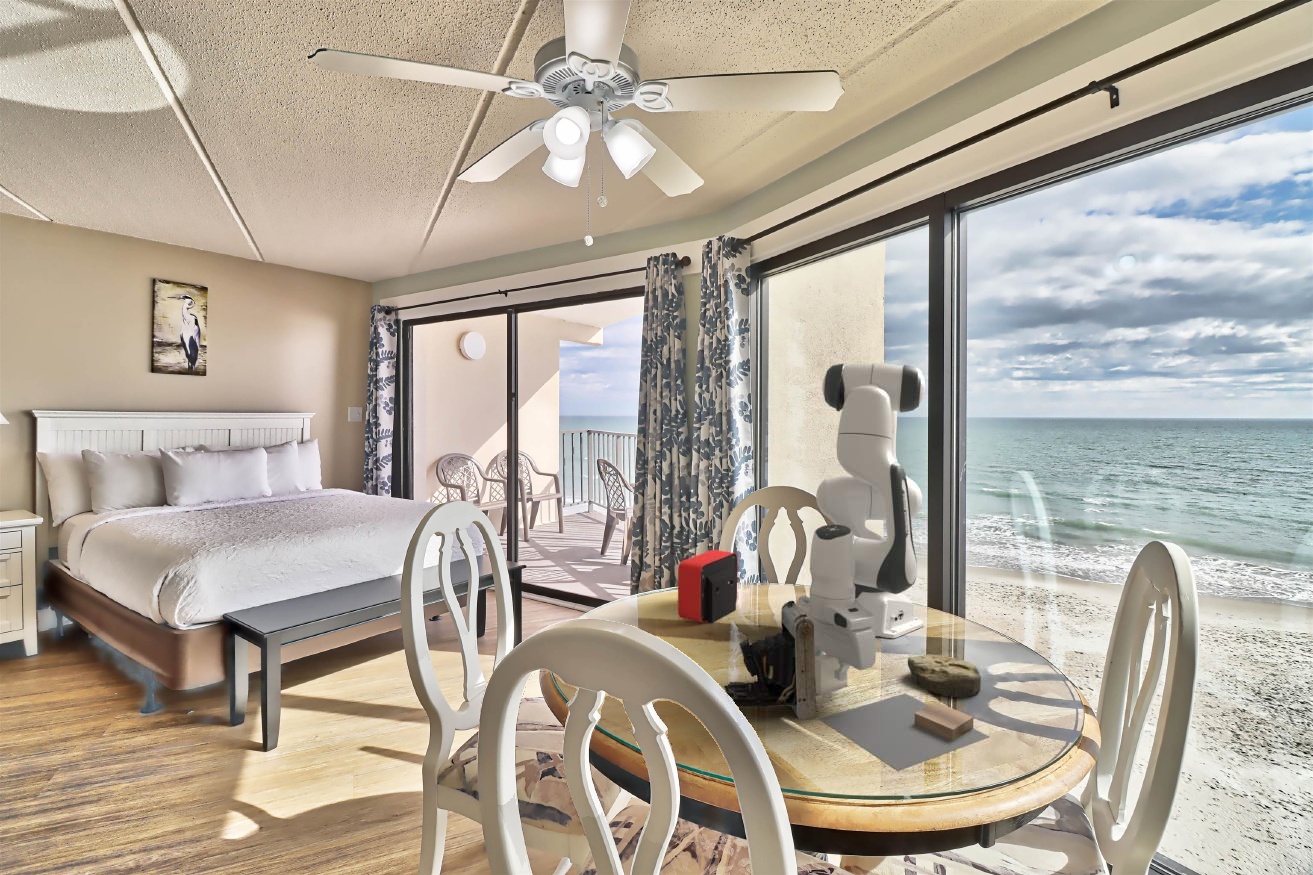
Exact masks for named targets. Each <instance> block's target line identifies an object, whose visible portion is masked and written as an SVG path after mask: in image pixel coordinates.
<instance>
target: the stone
mask: <svg viewBox="0 0 1313 875" xmlns="http://www.w3.org/2000/svg"><path fill="white" fill-rule="evenodd" d="M907 667H908V669H909V671H910V673H911V674H910V675H911V680H912V682H913V684H914V685H915V686H916V687H920V688H922V689H924V690H927V691H929V692H931V693H932V692H933V693H935V694H939V695H941V696H945V697H951V698H966V697H972V696H975V695H976V693H977V692H979V691H980V690H981V685H982V680H981V679H982V678H981V677H982V676H981V675H980V671H979V669H978V668H977V667H976V665H974V664H973V663H972V662H970V661H967V660H962V659H961V660H960V659H957V658H954V657H952V656H951V657H950V656H946V655H940V654H939V655H938V654H937V655H936V654H930V653H929V654H924V655H918V656H910V657H908V658H907Z"/></svg>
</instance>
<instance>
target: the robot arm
mask: <svg viewBox="0 0 1313 875" xmlns="http://www.w3.org/2000/svg"><path fill="white" fill-rule="evenodd" d="M821 388H822V389H821V390H822V395H823V398H824V401H825V403H826V404H827V405H828V406H829V407H832V408H833V409H835V410H836V412H839V413H840V411H841V413H840V416H839V417H840V418H839V423H838V428H837V429H838V430H837V439H836V457H837V458H836V459H837V461H838V463H839V465H840V466H841V467H842V469H843V470H844V471H845V472H846V473H848V474H849V475H850V476H843V475H842V476H835V477H830V478H826V479H824V480H823V481H822V482H821V483H820V484H819V486H818V487H817V489H816V494H815V496H816V497H815V498H816V503H817V504H816V505H817V507H818V509H819V510H820V512H821V513H822V514H823V515H824V516H826V517H827V518H828V519H829V520H830V521H831V522H832V523H833V524H826V525H822V526H820V527H818V528H816V529H815V530H814V533H813V536H812V539H811V540H812V541H811V546H810V553H809V554H810V557H809V558H810V559H809V572H810V576H811V583H810V587H809V596H807V595H804V594H803V595H802V596H800V597H798V599H797V601H796V605H797V606H798V607H799V608H800V609H801V610H802V611H803V612H804V613H805V614H806V615H807V617H808V618H809V619H810V620H811V621H812V622H813V625H814V648H815V657H817V656H821V655H825V654H829V655H831V656H833V657H835V658H836V659H838V664H839V665H840V667H839V669H838V670H835V678H836V679H838V680H839V681H844V680H846V671H847V672H848V670H849V669H850V667H852V668H854V669H856V670H859V671H864V670H868V669H871V668H873V666H874V665H875V664H876V656H877V643H876V642H877V641H876V637H881V638H887V639H896V638H899V637H901V636H904V635H906V634H909V633H911V632H913V631H915V630H917V629H920V628H923V627H924V621H923V620H922V619H921V618H919V617H917V616H915V610H914V605H913V602H912V601H911V599H909V598H908V597H907V596H905V595H904V594H903V592H905V591H907V590H908V589H909V588H911V587H912V586H913V585H914V584H915V583H916V580H917V577H918V563H917V562H918V561H917V560H918V559H917V555H916V551H915V545H914V539H913V531H912V530H913V528H912V519H913V518H915V517H916V516H917V515H918V513H919V512H920V510H921V509H922V507H923V499H924V498H923V494H922V491H921V489H920V487H919V484H917V483H916V482H915V481H914V480H912V479H911V478H910V477H908V476H907V475H906V472H905V469H904V467H903V465H901V464H900V463H898V462H899V461H898V458H897V428H898V427H897V426H898V425H897V424H898V412H900V413H908V412H911V411H914V410H915V409H917V408H919V406H920V404H921V402H922V401H923V399H924V396H925V394H926V382H925V378H924V375H923V372H922V371H921V370H920V369H919V368H918V367H917V366H913V365H907V364H904V365H900V364H899V365H898V364H891V363H883V362H880V363H879V362H874V363H852V364H846V363H838V364H833V365H831V366H830V367H828V369H827V371H826V373H825V376H824V377H823V380H822V387H821ZM870 520H872V521H885V524H886V526H885V527H886V537H887V538H886V539H885V538H884V537H883V536H881V535H880V534H878V533H875V532H874V531H872V530H870V529H868V528H867V527H866V521H870ZM824 653H825V654H824Z"/></svg>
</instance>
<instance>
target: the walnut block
mask: <svg viewBox="0 0 1313 875" xmlns="http://www.w3.org/2000/svg"><path fill="white" fill-rule="evenodd" d="M974 718H975V717H974V716H972V715H969V714H967V713H966V712H965V713H964V712H962V711H959V710H957V709H954V708H953V707H950V706H947V705H944V704H941V703H940V702H937V701H935V702H934V701H933V703H931V704H929V706H927V707H925V708H923V709H921V710H920V711H918V712H916V713H915V722H914V724H915V725H918V726H920V727H922V728H925V729H927V730H929V731H931V732H934V733H936V734H938V735H940V736H943V737H945V738H947V739H949V740H952V741H954V740H955V739H957V738H958V737H960V736H962V735H963V734H965V733H966V732H968V731H969V730H971V729H973V728H974V720H975V719H974Z"/></svg>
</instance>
